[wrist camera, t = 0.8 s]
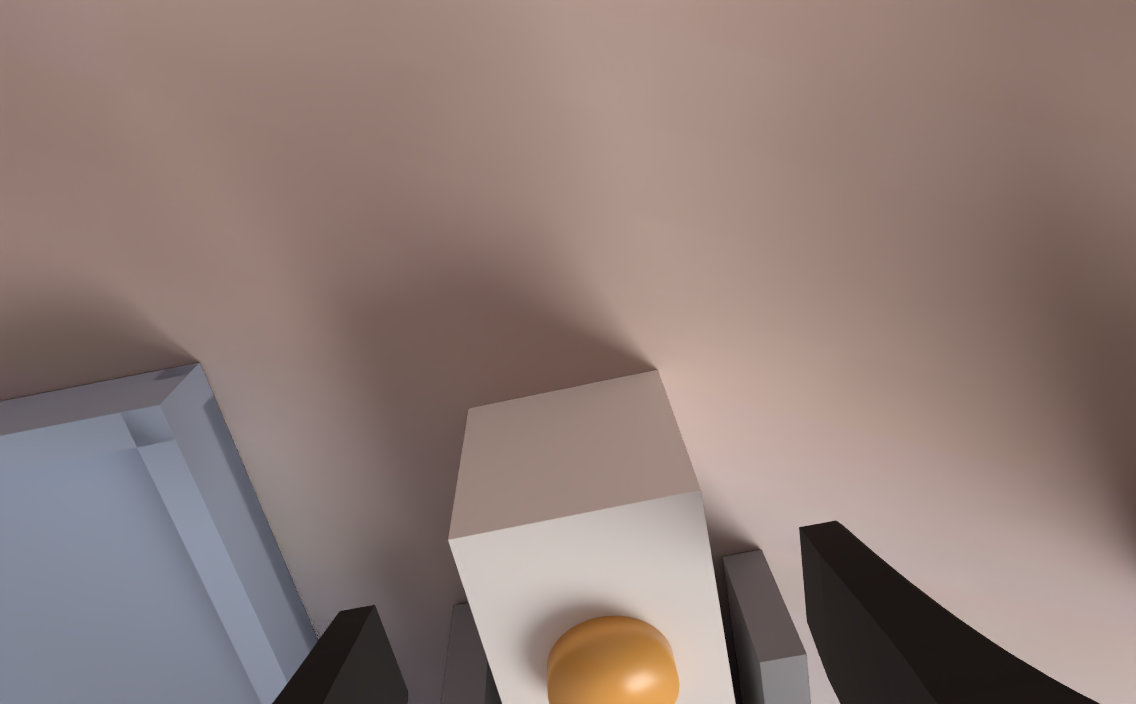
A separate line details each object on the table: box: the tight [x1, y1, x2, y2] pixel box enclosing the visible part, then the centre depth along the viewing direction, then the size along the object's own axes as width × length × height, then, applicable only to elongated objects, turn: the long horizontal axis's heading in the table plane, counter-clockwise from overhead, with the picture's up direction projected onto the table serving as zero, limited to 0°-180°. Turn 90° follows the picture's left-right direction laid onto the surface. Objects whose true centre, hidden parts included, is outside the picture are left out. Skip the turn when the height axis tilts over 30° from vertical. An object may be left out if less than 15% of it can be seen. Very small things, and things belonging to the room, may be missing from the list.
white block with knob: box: [448, 370, 736, 704], centre depth 17 cm, size 10×4×6 cm, turn 12°
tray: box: [0, 363, 318, 704], centre depth 19 cm, size 16×11×2 cm
